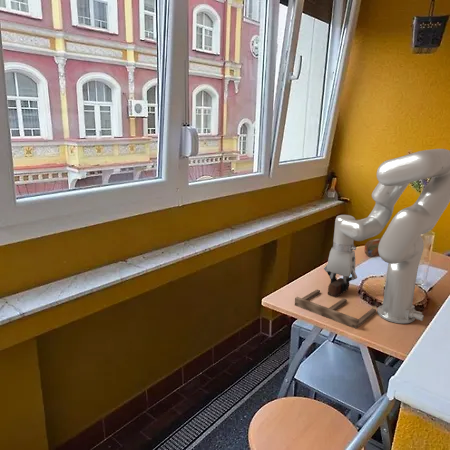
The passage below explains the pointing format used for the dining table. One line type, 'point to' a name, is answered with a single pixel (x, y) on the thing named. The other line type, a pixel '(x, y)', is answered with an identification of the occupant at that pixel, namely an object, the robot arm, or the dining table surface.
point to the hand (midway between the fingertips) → (338, 289)
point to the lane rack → (332, 310)
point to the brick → (336, 287)
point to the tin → (372, 248)
